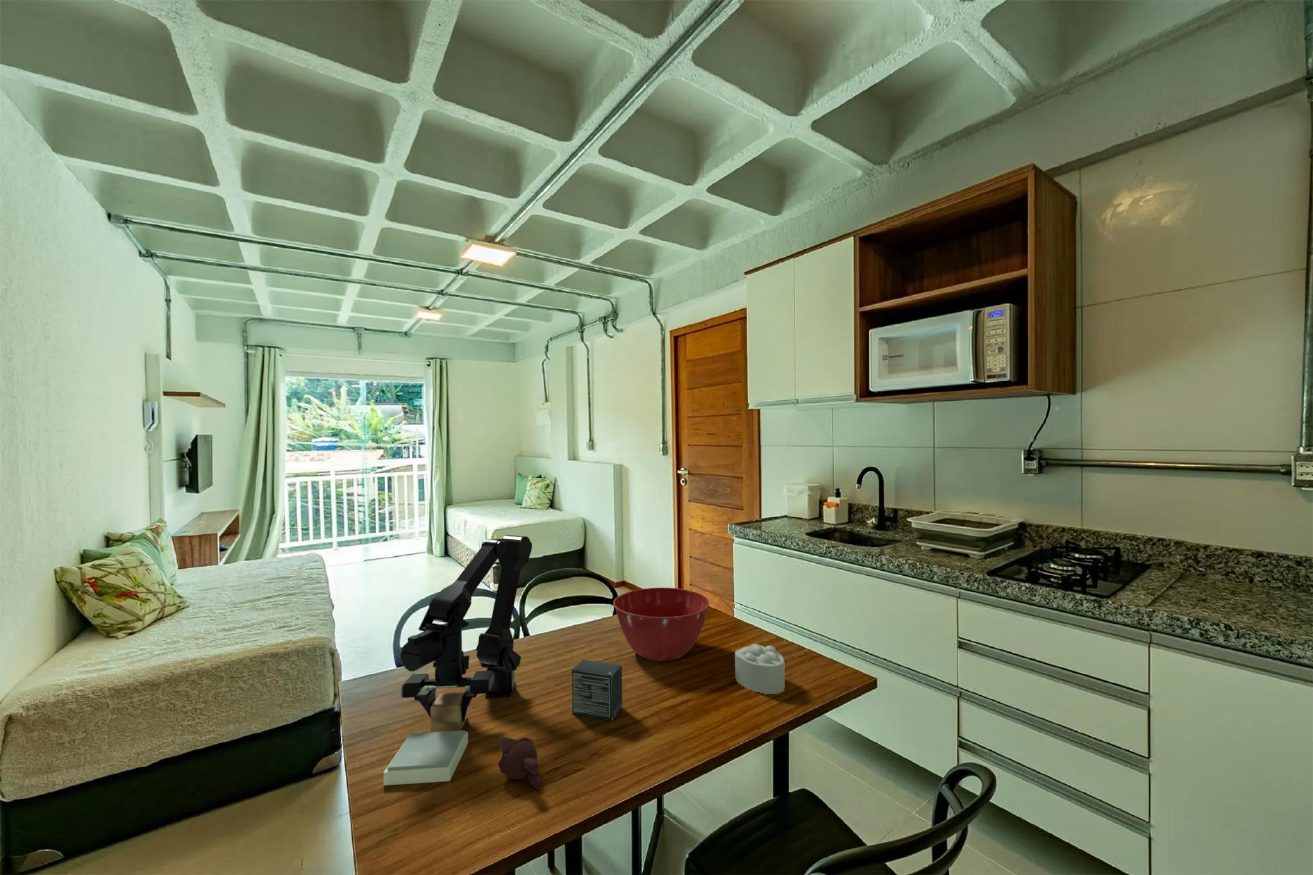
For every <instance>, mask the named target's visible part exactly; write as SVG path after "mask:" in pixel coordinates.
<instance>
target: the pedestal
mask: <svg viewBox="0 0 1313 875" xmlns="http://www.w3.org/2000/svg"><path fill="white" fill-rule="evenodd" d="M468 744H469V732H468V731H465V729H464V730H461V731H446V732H431V731H428V732H415V733H414V732H412V733H410V734H408V736H407V738H406V739H405V741H404V742H403V744H402V745H401V747H400V748H399V749H398V751H397V752H396V753H395V755H394V757H393V758H392V759H391V760H390V763H389V764H388V765H387V767H386V768H385V770H384V771H383V786H395V785H396V786H397V785H409V784H411V785H412V784H423V783H424V784H425V783H426V784H427V783H439V782H450V781H451V779H452V777H453V775H454V773H455V772H456V768H457V767H458V765H459V763H460V760H461V759H462V756H463V754H464V753H465V751H466V748H467V747H468Z"/></svg>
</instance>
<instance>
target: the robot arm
mask: <svg viewBox="0 0 1313 875" xmlns="http://www.w3.org/2000/svg"><path fill="white" fill-rule="evenodd" d="M532 550H533V543H532V542H531V539H530V538H529V537H528V536H526V535H525V536H524V535H516V534H515V535H514V534H513V535H512V534H506V535H504V536H503V537H502V538H493V539H491V538H487V539H485V540H484V541H483V542H482V543H481V547H480V548H479V550H478V551H477V552H476V553H475V555H474V556H473V557H472V559H471V560H470V562H469V563H468V564H467V566H465V568H464V569H463V571H462V572H461V573H460V574H459V576H458V577H457V579H456V580H454V582H453V583H451V584H449V585H448V586H446V587H444V588H443V589H441V590H440V591H439V592H438V593H437V594H436V595H435V596H434V597H433V598H432V599H431V601H430V602H429V605H428V609H427V610H426V612H425V615H424V616H423V619H422V620H421V623H420V625H419V627H418V631H420V632H419V633H418V634H414V635H411V636H409V637H408V638H407V643H406V644H404V646H403V647H402V649H401V651H400V654H399V656H400V662H401V664H402V666H403V667H404V668H405V669H406V670H407V671H409V672H416V671H418V670H420V669H422V668H424V667H425V666H426V667H427V665H430V664H431V663H432V667H433V668H434V678H430V676H429V674H428V673H411V675H410V676H409V677H408V678H407V679H406V680H405V682H404V683H403V684H402V685H401V689H400V697H401V698H402V699H404V698H406V699H407V698H408V699H409V698H413V699H414V701H415V702H417V701H418V702H419V703H420V705H421V706H422V707H423V709H424V710H425V711H426V714H427V715H428V717H429V718H430V720H431V706H432V704H433V703H434V702H435V700H436V699H437V697H436V693H437V689H451V688H465V691H463V692H464V694H463V696H462V721H463V722H464V721H465V719H466V716H467V717H468V713H469V709H470V705H471V703H472V699H474V698H477V696H478V695H484V697H485V698H496V697H511V696H512V695H513V693H514V690H515V688H516V685H517V682H516V681H515V671H517V669H518V667H520V665H521V664H520V663H521V660H522V656H520V654H518V653H517V652H516V651H515V650H514V641H515V640H514V637H513V634H512V631H511V624H512V619H513V612H514V606H515V602H516V597H517V591H518V587H519V586H518V585H519V581H520V576H521V571H522V570H523V568H524V567H525V566H526V565H527V564H528V562H529V560H530V556H531V553H532ZM497 561H498V564H499V566H500V573H499V577H498V578H499V579H498V583H497V587H496V593H495V599H494V604H493V609H492V613H491V619H490V624H489V627H488V628H487V629H486V631H485V632H484V633H483V632H481V633H479V635H478V642H477V646H476V648H475V651H476V659H478V661H479V664H480V667H481V668H483V669H484V668H485V669H486V670H477V671H475V673H474V674H473V676H467V677H466V676H465V675H466V673H467V670H469V666H470V654H464V650H463V634H462V632H463V629H464V628H467V627H469V625H470V623H469V622H468V621H466V620H465V619H464V618H465V616H466V615H467V613H468V611H469V610H470V608H471V605H472V598H473V597H472V596H473V594H474V592H475V591H476V590H477V588H478V587H479V586H480V584H481V583H482V581H483V580H484V578H485V577H487V575H488V574H489V572H490V570H491V569H492V567H493V566H494V565H495V564H496V562H497ZM435 622H440V623H445V624H439V623H435ZM463 676H465V677H463ZM466 720H467V719H466ZM465 722H466V721H465Z"/></svg>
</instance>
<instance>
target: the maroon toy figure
mask: <svg viewBox="0 0 1313 875" xmlns="http://www.w3.org/2000/svg"><path fill="white" fill-rule="evenodd" d="M499 745H500V749H501V754H502V756H501V758H500V760H499V761H498V763H497V766H498V768H499V770H500V773H503V774H504V775H506V776H508V777H509V779H511V780H523V779H526V778H527V779H528V781H529V783H530V784H531V786H532V787H533V788H534V789H535V790H537V791H539V790H541V789H542V787H543V781H542V779H541V777H540V775H539V774H537V773H538V770H539V762H538V751H537V748H536V747H535V745H534V740H533V739H532V738H529V737H521V738H519V739H514V738H510V737H507V736H501V735H500V737H499Z"/></svg>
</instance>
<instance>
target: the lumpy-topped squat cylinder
mask: <svg viewBox="0 0 1313 875" xmlns="http://www.w3.org/2000/svg"><path fill="white" fill-rule="evenodd" d="M734 662H735V663H734V667H735V668H734V669H735V670H734V672H735V675H734V677H735V679H736V680H735V679H734V680H735V682H736V681H737V682H738V683H737V682H736V683H737V684H739V685H740V684H741V687H743V686H744V687H743V688H745V687H746V688H745V689H747V688H748V689H749V690H748V689H747V690H748V691H750V690H752V691H751V692H753V691H754V692H753V693H756V692H760V693H759V694H761V693H763V694H762V695H767V694H777V695H779V694H778V693H780V692H782V691H784V692H785V690H784V689H786V679H785V678H786V677H785V676H786V673H785V672H786V671H785V669H786V668H785V665H786V664H785V659H784V657H783V655H782V654H781V653H779V652H778V651H777V649H776V648H775V647H774V646H773V645H767V646H763V645H761V644H758V643H753V644H751V645H749V646H744V647H741V648H740V649H736V650H735V652H734Z"/></svg>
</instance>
